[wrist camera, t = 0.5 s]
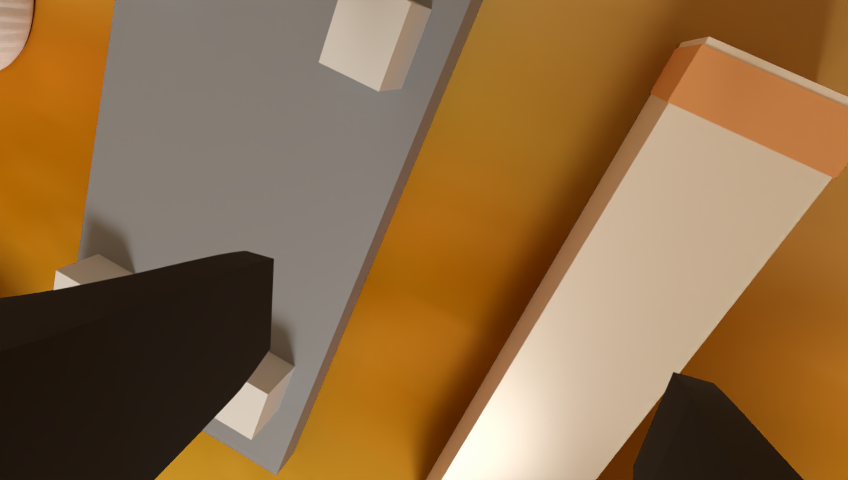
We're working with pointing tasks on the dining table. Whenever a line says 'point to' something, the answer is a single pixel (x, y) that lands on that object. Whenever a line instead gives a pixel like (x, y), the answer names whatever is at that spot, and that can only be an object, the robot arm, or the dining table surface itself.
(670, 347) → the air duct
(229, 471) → the dining table surface
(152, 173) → the collar stand
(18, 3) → the ramekin
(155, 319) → the robot arm
